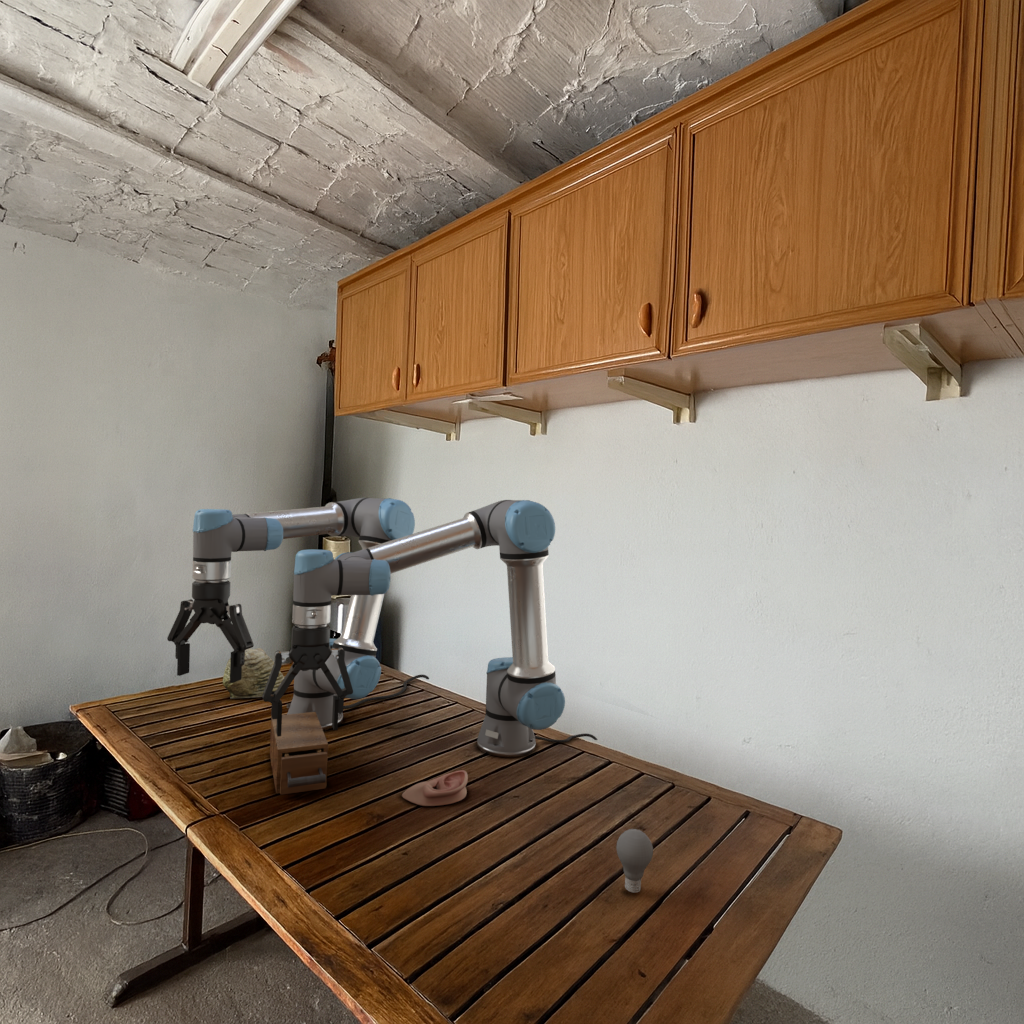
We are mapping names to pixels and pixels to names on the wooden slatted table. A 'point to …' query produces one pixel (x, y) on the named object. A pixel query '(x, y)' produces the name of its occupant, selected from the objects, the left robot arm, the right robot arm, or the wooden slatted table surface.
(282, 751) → the cabinet
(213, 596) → the left robot arm
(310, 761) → the drawer
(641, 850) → the light bulb
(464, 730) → the wooden slatted table surface
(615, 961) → the wooden slatted table surface
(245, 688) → the fossil
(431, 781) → the anatomical model
